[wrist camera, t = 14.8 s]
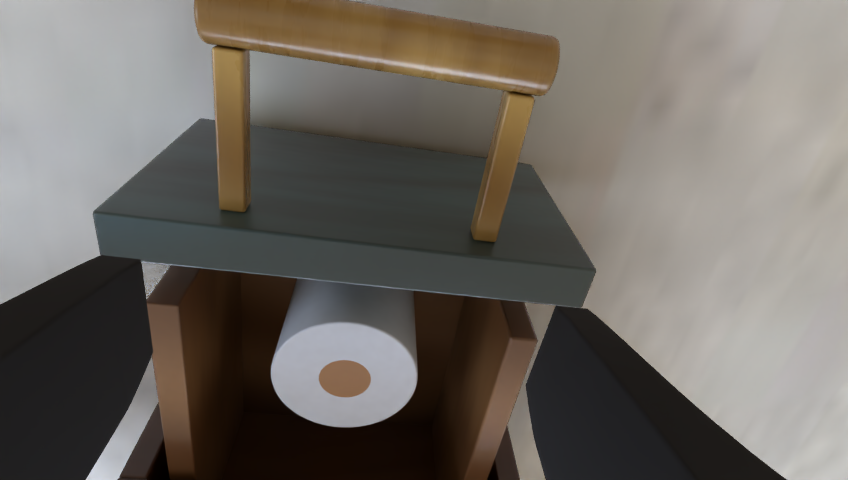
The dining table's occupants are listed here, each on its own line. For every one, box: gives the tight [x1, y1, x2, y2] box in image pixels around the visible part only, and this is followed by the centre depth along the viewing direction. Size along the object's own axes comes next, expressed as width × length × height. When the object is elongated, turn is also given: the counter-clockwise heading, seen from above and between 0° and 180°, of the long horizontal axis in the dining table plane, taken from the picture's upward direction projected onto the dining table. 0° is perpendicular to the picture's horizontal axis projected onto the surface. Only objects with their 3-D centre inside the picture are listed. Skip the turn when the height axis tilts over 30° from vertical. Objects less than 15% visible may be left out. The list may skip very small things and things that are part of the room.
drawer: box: [93, 0, 596, 480], centre depth 16 cm, size 18×11×7 cm, turn 171°
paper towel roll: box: [271, 278, 418, 427], centre depth 16 cm, size 4×4×5 cm
